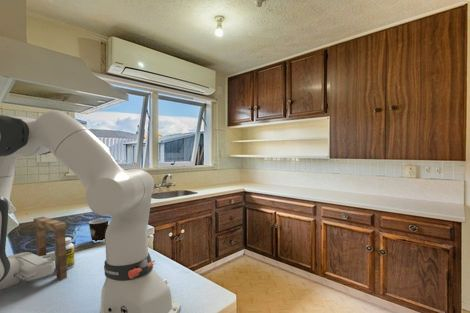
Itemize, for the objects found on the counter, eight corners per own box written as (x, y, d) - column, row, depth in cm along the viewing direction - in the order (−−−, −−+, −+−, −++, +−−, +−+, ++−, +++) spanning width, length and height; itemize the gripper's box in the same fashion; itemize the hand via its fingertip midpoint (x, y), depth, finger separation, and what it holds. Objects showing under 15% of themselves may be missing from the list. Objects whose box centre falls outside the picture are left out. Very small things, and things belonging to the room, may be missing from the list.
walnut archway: (68, 277, 90) (66, 222, 89) (59, 280, 87) (56, 225, 87) (44, 265, 99) (42, 216, 99) (35, 269, 97) (33, 218, 96)
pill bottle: (65, 271, 94) (64, 242, 94) (51, 270, 95) (49, 241, 95) (78, 264, 100) (77, 236, 100) (65, 263, 101) (64, 236, 101)
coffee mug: (87, 241, 126) (86, 221, 126) (106, 236, 132) (105, 217, 132) (93, 247, 117) (92, 226, 117) (113, 242, 123) (112, 222, 123)
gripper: (21, 270, 77) (69, 253, 89) (-4, 256, 88) (42, 243, 100) (22, 290, 78) (70, 271, 89) (-3, 274, 88) (43, 259, 100)
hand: (55, 256), depth 95 cm, fingers closed, pressing on pill bottle
